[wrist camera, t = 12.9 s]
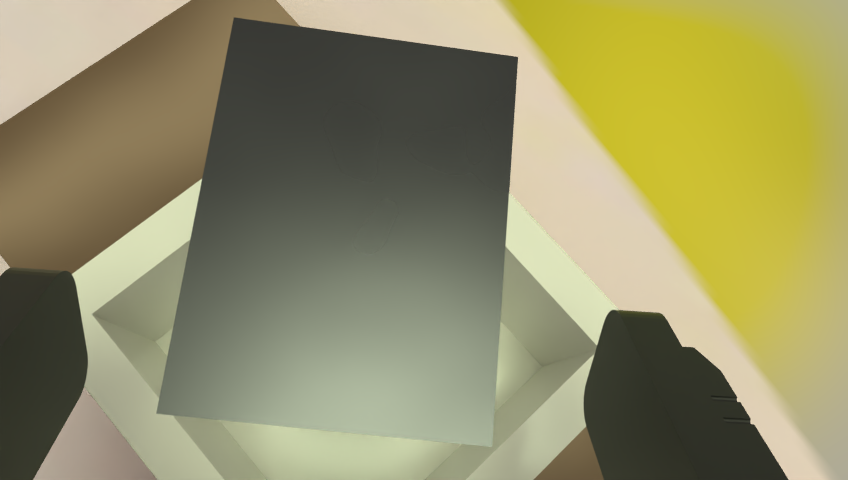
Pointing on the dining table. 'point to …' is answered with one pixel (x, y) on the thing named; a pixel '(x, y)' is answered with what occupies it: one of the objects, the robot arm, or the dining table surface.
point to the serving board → (137, 152)
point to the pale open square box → (328, 450)
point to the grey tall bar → (348, 239)
